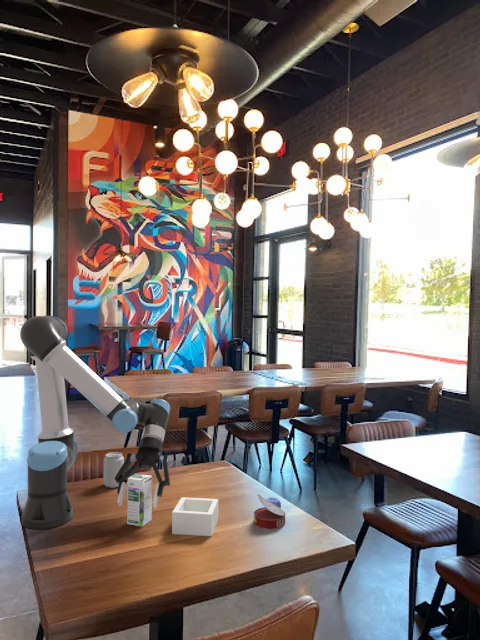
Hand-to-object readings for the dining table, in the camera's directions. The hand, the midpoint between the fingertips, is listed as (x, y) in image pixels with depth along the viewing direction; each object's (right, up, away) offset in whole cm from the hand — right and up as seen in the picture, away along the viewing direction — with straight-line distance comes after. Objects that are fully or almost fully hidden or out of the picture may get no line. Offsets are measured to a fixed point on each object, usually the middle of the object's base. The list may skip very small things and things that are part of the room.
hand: (136, 505), depth 151 cm
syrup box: (0, -7, +3) cm, 7 cm away
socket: (+18, -7, 0) cm, 19 cm away
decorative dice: (+43, -7, +12) cm, 45 cm away
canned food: (+41, -7, +4) cm, 42 cm away
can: (-16, -6, +36) cm, 40 cm away
